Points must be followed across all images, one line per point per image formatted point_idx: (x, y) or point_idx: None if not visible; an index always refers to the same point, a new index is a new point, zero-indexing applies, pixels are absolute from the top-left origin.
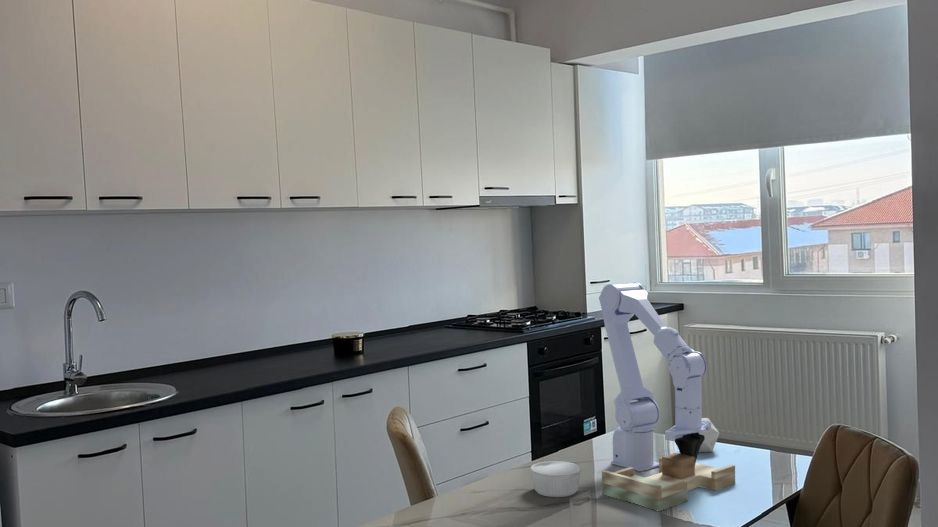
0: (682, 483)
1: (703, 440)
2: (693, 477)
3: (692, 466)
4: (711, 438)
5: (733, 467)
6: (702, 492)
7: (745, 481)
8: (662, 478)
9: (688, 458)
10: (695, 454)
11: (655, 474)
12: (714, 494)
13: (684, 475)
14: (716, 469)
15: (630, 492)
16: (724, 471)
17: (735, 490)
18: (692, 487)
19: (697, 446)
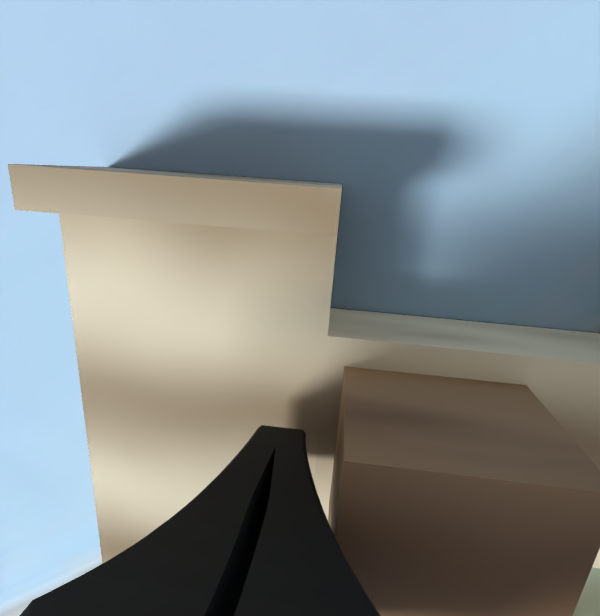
0: None
1: (66, 594)
2: (408, 344)
3: (379, 408)
4: None
5: (43, 166)
6: (432, 232)
7: (16, 138)
8: None
9: (452, 481)
10: (250, 492)
11: None
12: (422, 144)
13: (487, 391)
14: (108, 314)
15: None
16: (192, 176)
17: (236, 76)
18: (411, 318)
19: (215, 558)
